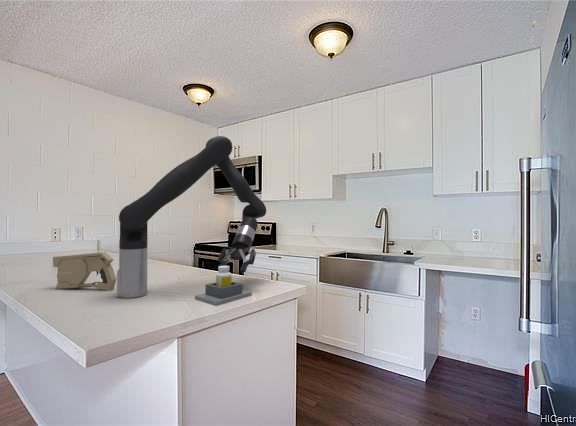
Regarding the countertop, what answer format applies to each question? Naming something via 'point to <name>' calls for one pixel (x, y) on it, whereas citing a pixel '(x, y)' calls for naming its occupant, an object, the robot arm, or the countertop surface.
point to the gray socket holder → (222, 293)
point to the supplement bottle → (223, 276)
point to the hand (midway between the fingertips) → (231, 271)
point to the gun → (84, 270)
